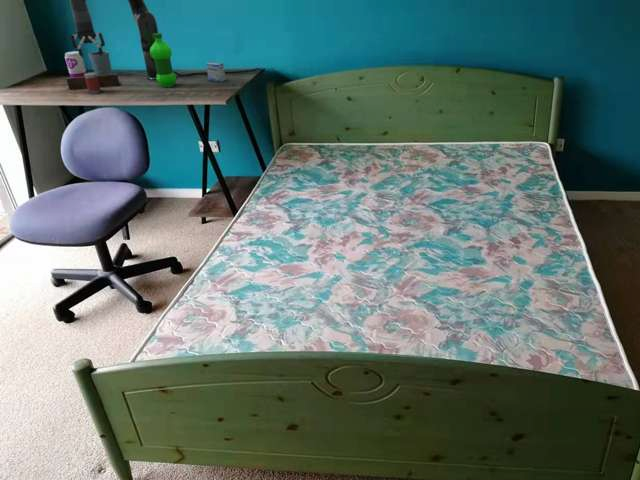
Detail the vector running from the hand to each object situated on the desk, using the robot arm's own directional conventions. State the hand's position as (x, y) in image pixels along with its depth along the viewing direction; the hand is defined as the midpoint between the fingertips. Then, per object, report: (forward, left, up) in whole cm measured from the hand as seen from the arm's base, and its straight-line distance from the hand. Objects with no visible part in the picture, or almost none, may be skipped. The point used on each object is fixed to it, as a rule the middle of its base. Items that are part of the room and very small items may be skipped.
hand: (91, 56), depth 292 cm
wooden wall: (+4, -9, -17) cm, 19 cm away
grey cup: (+1, -32, -17) cm, 36 cm away
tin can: (+3, +3, -17) cm, 17 cm away
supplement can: (+12, -21, -17) cm, 29 cm away
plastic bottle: (-33, +4, -17) cm, 37 cm away
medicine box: (-57, +3, -17) cm, 60 cm away
